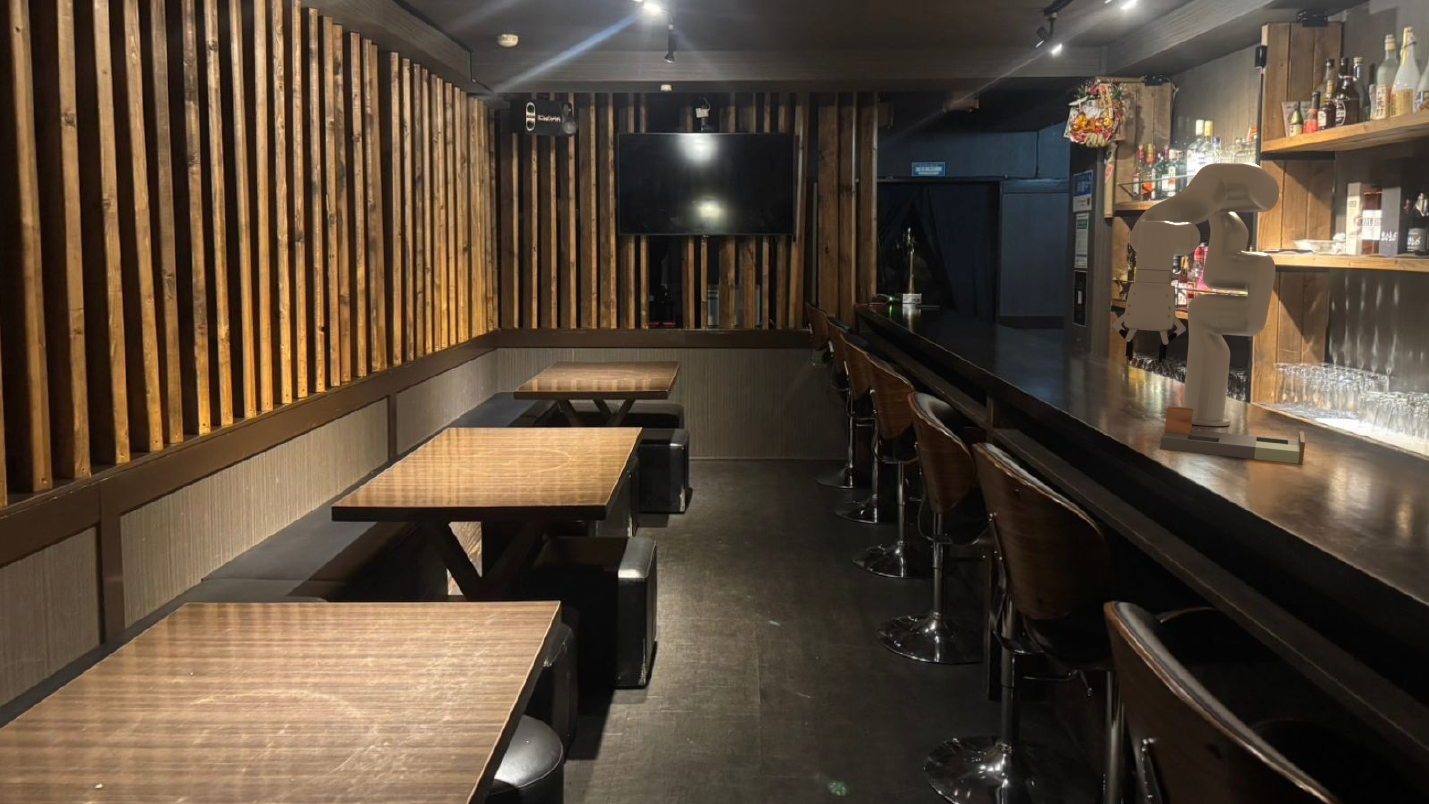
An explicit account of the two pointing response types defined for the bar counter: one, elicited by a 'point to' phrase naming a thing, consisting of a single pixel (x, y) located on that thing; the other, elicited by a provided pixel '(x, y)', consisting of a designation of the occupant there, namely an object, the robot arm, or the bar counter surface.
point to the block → (1179, 420)
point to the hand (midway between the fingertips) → (1145, 360)
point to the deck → (1236, 445)
